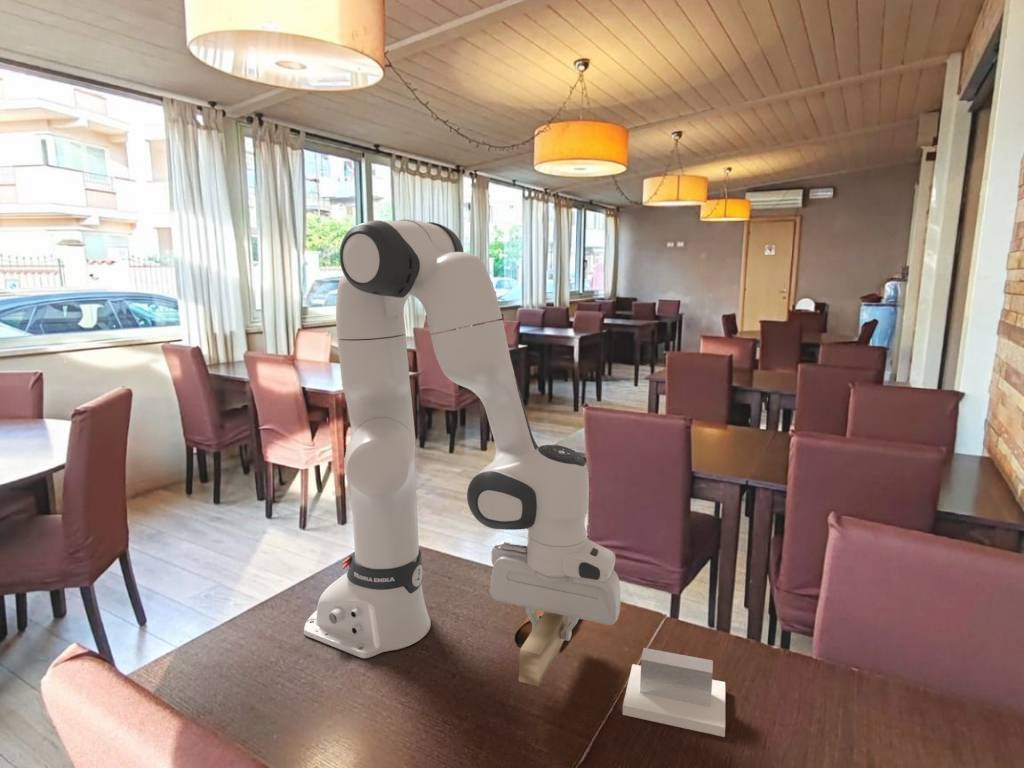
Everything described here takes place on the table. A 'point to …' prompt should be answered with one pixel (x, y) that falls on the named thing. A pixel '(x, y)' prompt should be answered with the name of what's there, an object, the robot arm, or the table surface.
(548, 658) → the oak rod
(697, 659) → the ridge stand
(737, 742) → the table surface
